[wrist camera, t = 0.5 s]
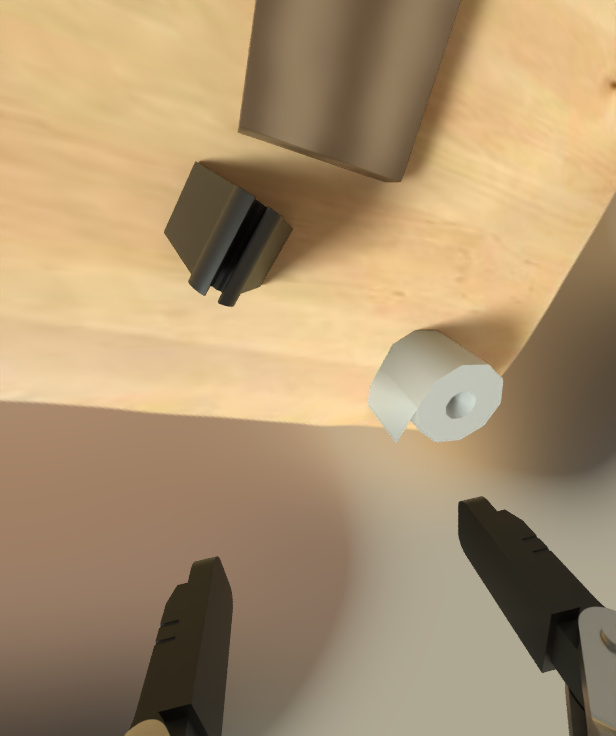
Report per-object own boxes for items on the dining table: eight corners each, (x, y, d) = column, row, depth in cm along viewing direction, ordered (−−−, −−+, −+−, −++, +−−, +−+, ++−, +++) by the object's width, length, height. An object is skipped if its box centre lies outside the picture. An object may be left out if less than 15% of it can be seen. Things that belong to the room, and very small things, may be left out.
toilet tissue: (354, 414, 41) (383, 463, 34) (406, 318, 36) (453, 351, 29) (410, 426, 45) (448, 474, 37) (465, 340, 40) (520, 375, 32)
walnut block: (237, 132, 25) (239, 126, 23) (272, -122, 20) (279, -168, 17) (385, 182, 29) (401, 181, 27) (447, -17, 24) (474, -42, 21)
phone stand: (292, 228, 29) (330, 250, 19) (259, 286, 31) (277, 334, 21) (196, 160, 25) (179, 142, 15) (164, 231, 27) (129, 257, 17)
